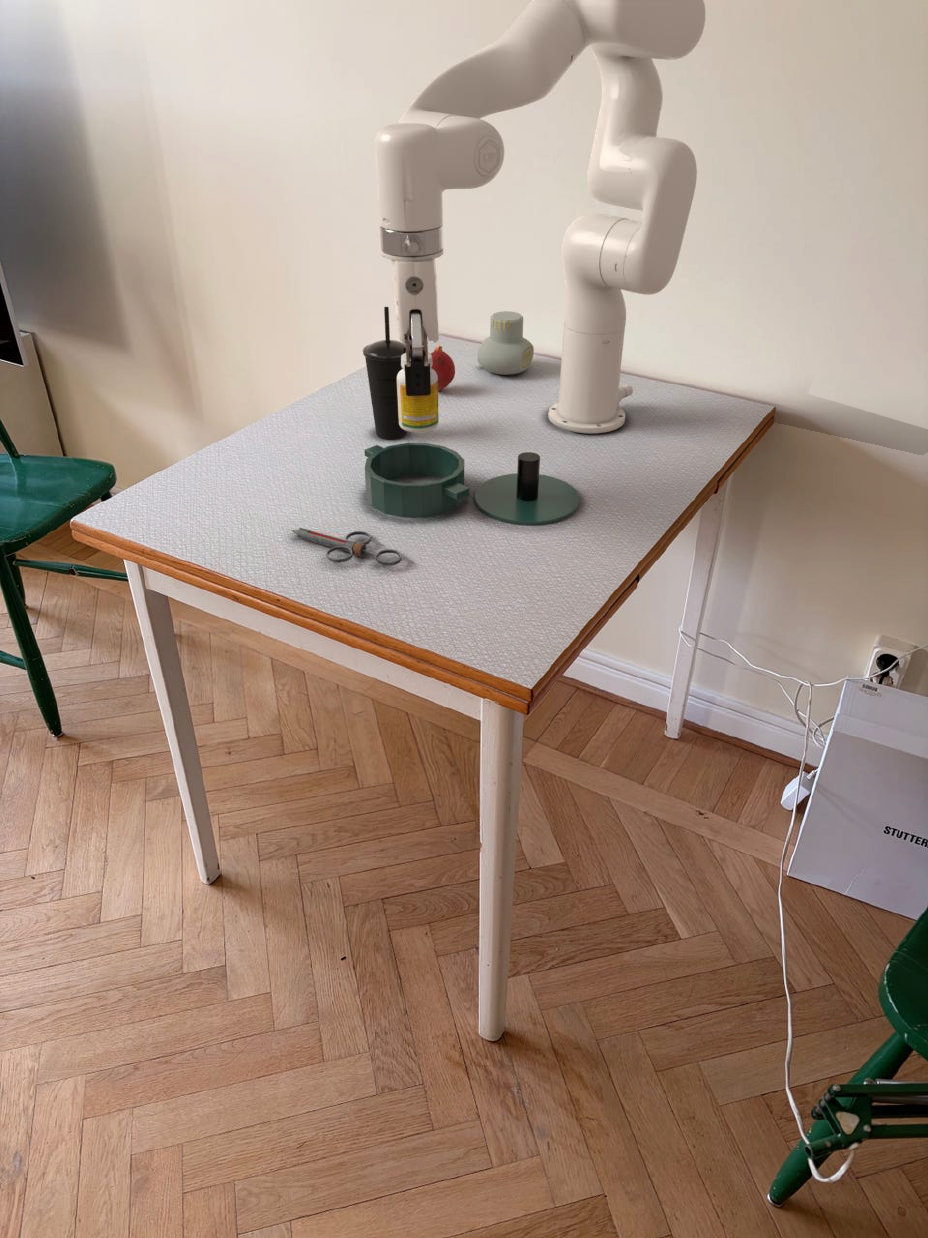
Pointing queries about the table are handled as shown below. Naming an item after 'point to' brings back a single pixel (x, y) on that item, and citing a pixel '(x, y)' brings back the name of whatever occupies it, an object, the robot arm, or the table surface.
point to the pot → (414, 496)
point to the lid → (527, 495)
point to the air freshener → (506, 345)
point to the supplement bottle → (417, 403)
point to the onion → (443, 367)
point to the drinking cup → (385, 383)
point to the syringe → (344, 545)
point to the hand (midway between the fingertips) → (417, 384)
